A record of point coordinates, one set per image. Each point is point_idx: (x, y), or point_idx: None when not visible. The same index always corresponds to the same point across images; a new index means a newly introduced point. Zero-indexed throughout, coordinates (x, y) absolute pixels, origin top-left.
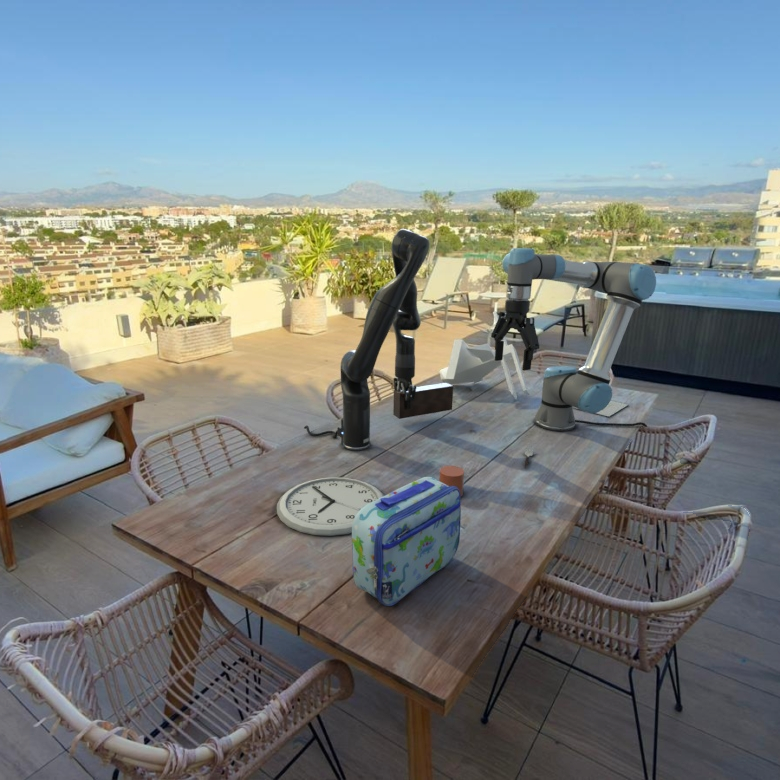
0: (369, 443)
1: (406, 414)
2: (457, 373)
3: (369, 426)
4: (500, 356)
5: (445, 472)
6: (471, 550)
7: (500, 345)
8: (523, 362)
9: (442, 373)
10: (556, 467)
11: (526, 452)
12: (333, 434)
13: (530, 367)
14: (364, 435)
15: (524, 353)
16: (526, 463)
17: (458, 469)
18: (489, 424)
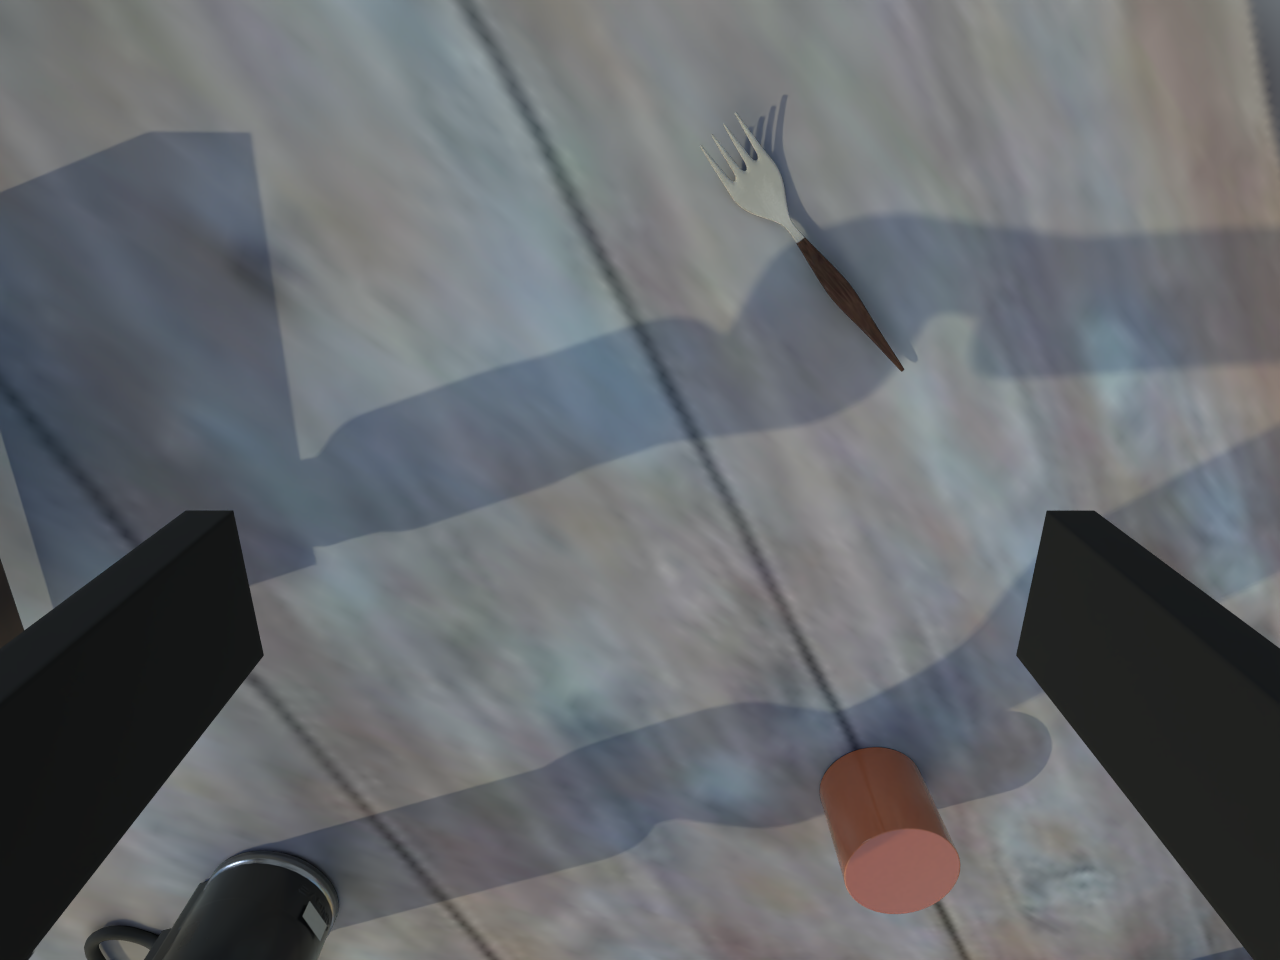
0: (300, 873)
1: (6, 643)
2: None
3: (259, 958)
4: (202, 607)
5: (899, 900)
6: (1196, 909)
7: (15, 831)
8: (1110, 759)
9: None
10: (982, 154)
11: (738, 191)
12: (125, 939)
13: (1117, 535)
14: (306, 954)
15: (1268, 949)
16: (868, 322)
17: (909, 845)
18: (157, 46)
